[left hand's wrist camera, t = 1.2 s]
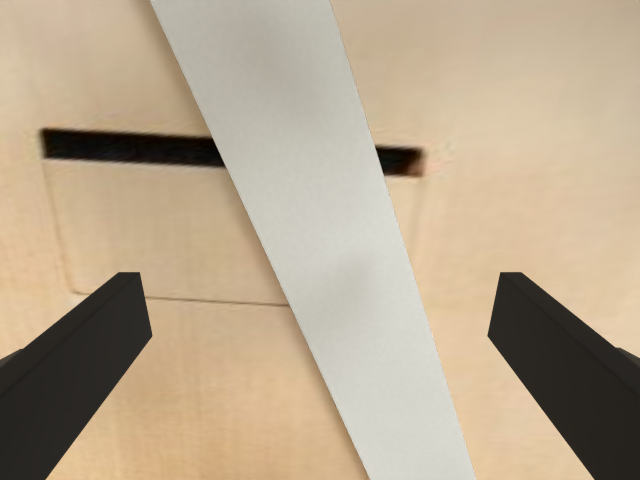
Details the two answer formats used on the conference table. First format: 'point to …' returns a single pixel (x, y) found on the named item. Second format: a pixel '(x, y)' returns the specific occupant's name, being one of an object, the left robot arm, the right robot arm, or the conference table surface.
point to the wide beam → (323, 219)
